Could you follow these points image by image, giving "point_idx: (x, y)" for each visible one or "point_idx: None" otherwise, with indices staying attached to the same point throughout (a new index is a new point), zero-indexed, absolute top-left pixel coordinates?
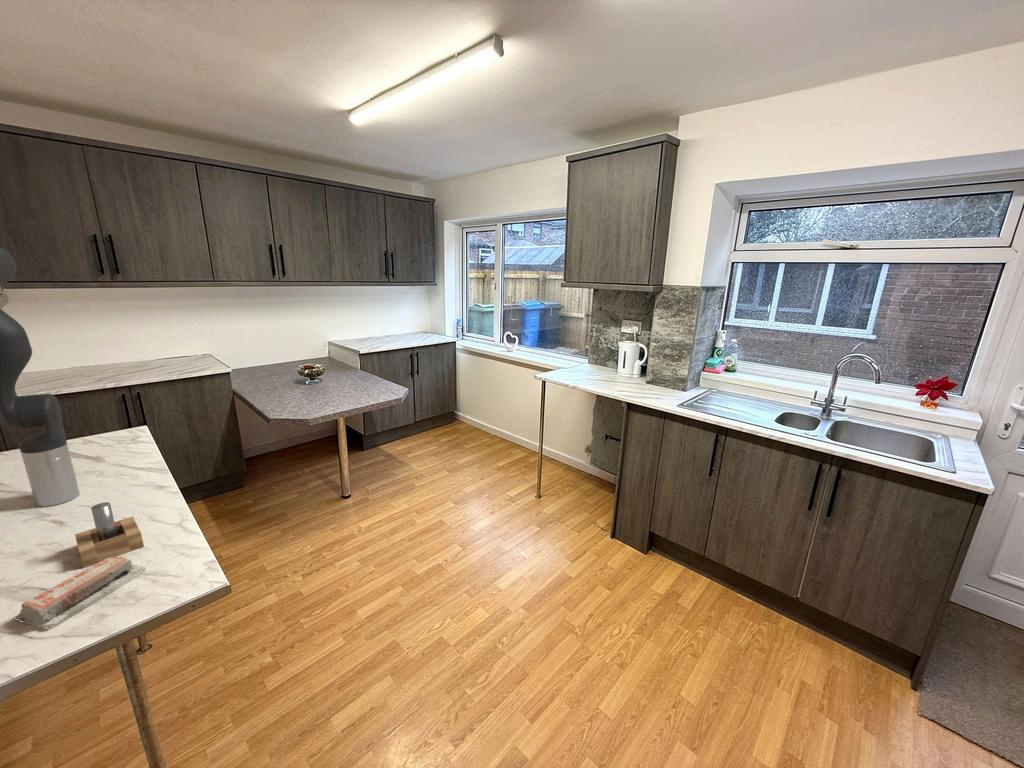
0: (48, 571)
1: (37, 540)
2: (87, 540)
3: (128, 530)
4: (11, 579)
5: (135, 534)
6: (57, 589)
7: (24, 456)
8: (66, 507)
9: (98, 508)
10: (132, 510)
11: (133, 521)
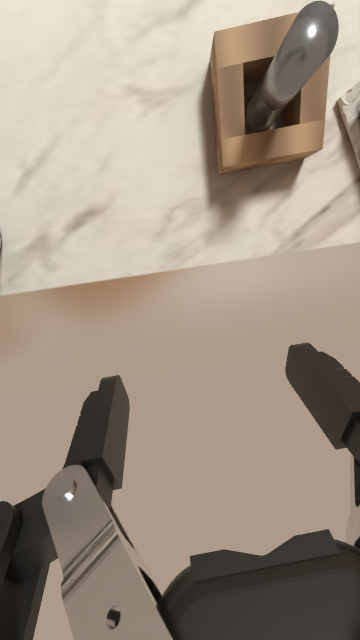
0: (270, 211)
1: (141, 240)
2: (272, 138)
3: None
4: (255, 254)
5: None
6: None
7: None
8: (18, 213)
9: (327, 43)
10: (98, 71)
11: (246, 29)
